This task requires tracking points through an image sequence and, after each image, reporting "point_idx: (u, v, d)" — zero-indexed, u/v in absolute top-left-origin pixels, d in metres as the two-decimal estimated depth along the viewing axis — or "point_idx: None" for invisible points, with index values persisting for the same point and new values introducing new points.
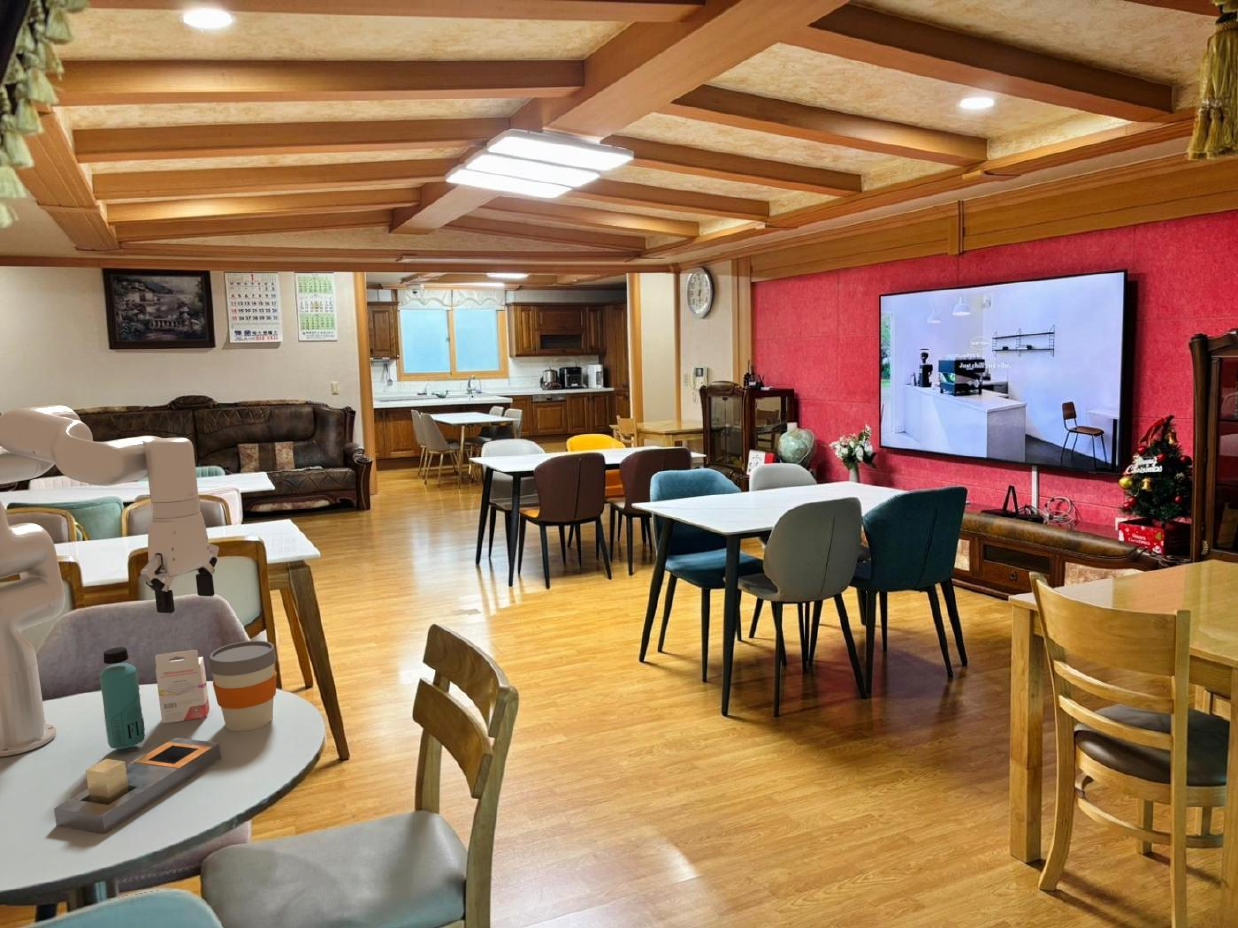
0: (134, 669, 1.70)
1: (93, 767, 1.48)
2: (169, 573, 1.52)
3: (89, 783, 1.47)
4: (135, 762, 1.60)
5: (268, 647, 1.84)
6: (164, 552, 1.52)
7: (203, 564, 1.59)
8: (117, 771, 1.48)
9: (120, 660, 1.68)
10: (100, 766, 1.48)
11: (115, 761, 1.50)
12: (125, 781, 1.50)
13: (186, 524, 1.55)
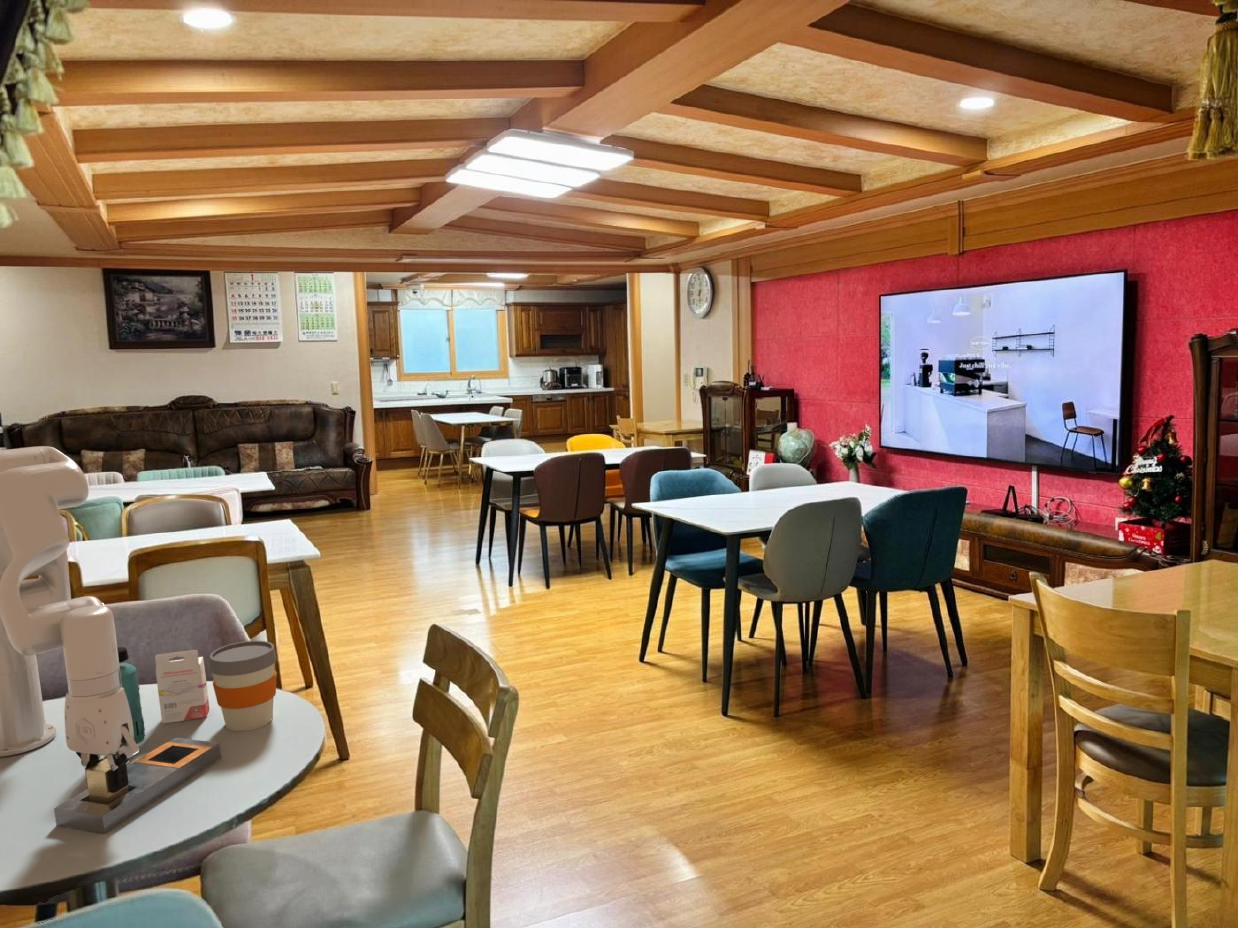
0: (134, 669, 1.70)
1: (93, 767, 1.48)
2: (133, 739, 1.48)
3: (89, 783, 1.47)
4: (135, 762, 1.60)
5: (268, 647, 1.84)
6: (129, 719, 1.47)
7: None
8: None
9: (120, 660, 1.68)
10: (100, 765, 1.48)
11: None
12: None
13: None
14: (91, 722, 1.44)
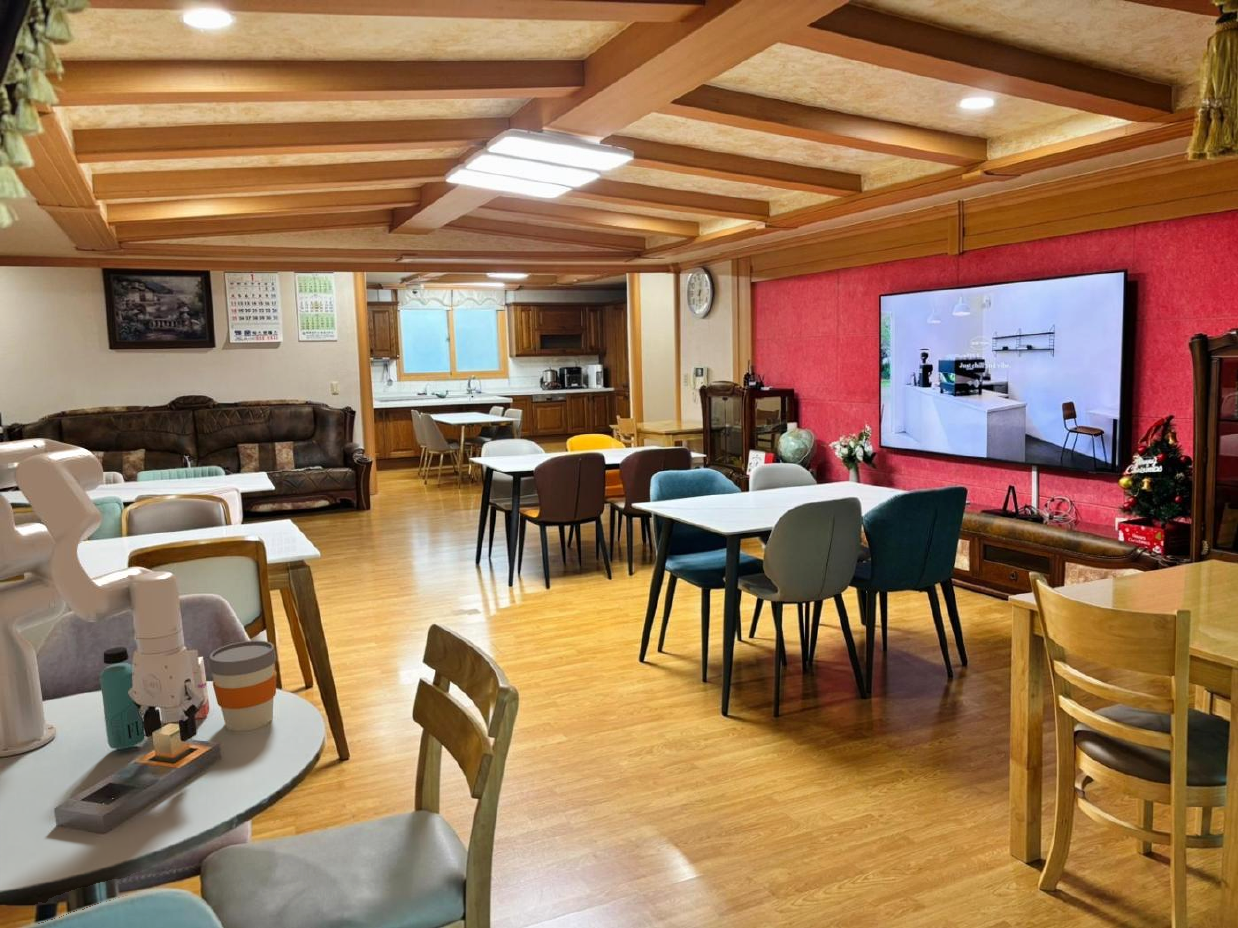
0: None
1: (159, 730, 1.61)
2: None
3: (155, 745, 1.60)
4: (135, 762, 1.60)
5: (268, 647, 1.84)
6: (191, 676, 1.60)
7: None
8: None
9: (120, 660, 1.68)
10: (165, 729, 1.61)
11: (178, 725, 1.63)
12: (187, 744, 1.63)
13: None
14: (157, 677, 1.57)
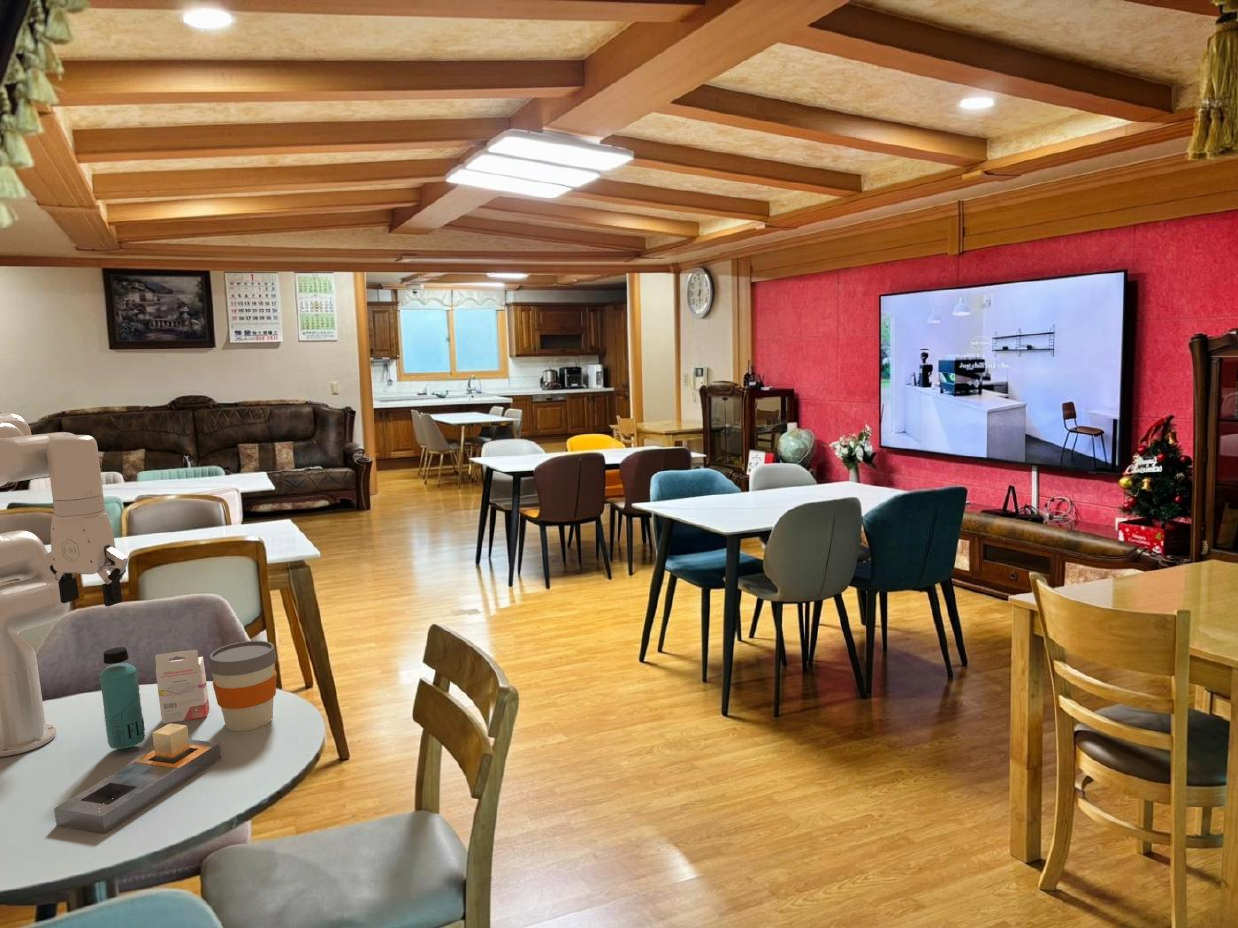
0: (134, 669, 1.70)
1: (159, 730, 1.61)
2: None
3: (155, 745, 1.60)
4: (135, 762, 1.60)
5: (268, 647, 1.84)
6: (112, 543, 1.55)
7: None
8: (180, 734, 1.61)
9: (120, 660, 1.68)
10: (165, 729, 1.61)
11: (178, 725, 1.63)
12: (187, 744, 1.63)
13: None
14: (76, 542, 1.52)
